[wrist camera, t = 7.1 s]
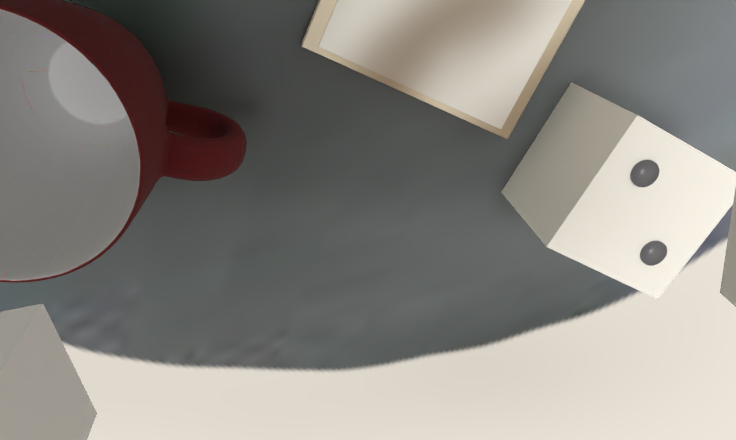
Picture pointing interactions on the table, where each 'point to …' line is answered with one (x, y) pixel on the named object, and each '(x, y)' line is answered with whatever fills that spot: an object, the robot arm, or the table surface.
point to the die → (618, 192)
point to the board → (448, 49)
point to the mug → (87, 136)
